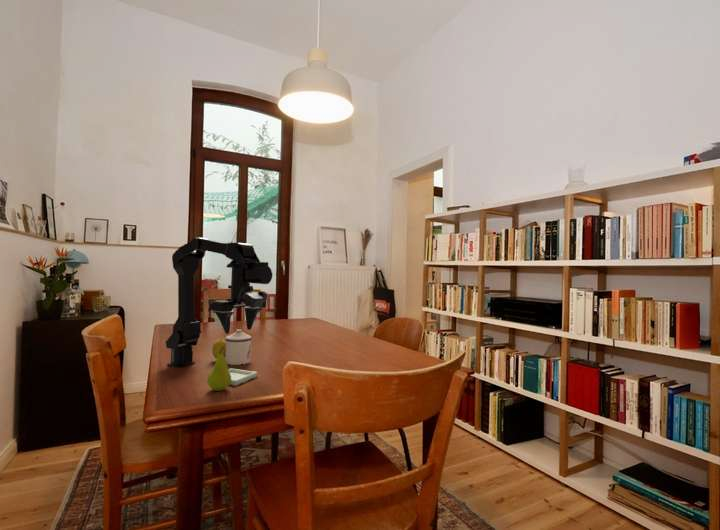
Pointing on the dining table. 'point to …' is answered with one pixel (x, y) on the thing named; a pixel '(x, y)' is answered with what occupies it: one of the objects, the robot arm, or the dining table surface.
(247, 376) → the tray
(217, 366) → the fruit
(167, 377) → the dining table surface
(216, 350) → the lemon
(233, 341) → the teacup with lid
